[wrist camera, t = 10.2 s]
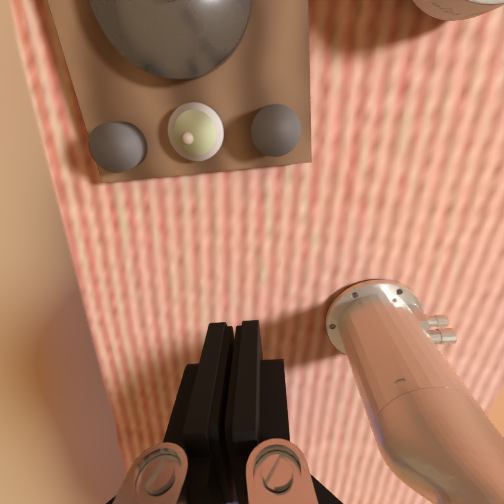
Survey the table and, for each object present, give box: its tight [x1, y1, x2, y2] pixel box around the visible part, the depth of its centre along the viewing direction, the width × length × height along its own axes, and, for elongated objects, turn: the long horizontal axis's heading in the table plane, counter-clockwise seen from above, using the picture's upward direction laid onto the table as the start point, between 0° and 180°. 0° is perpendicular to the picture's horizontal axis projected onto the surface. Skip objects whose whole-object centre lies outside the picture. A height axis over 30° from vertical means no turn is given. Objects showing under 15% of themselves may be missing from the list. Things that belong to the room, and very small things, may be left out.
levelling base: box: [47, 0, 312, 183], centre depth 28 cm, size 22×22×6 cm
